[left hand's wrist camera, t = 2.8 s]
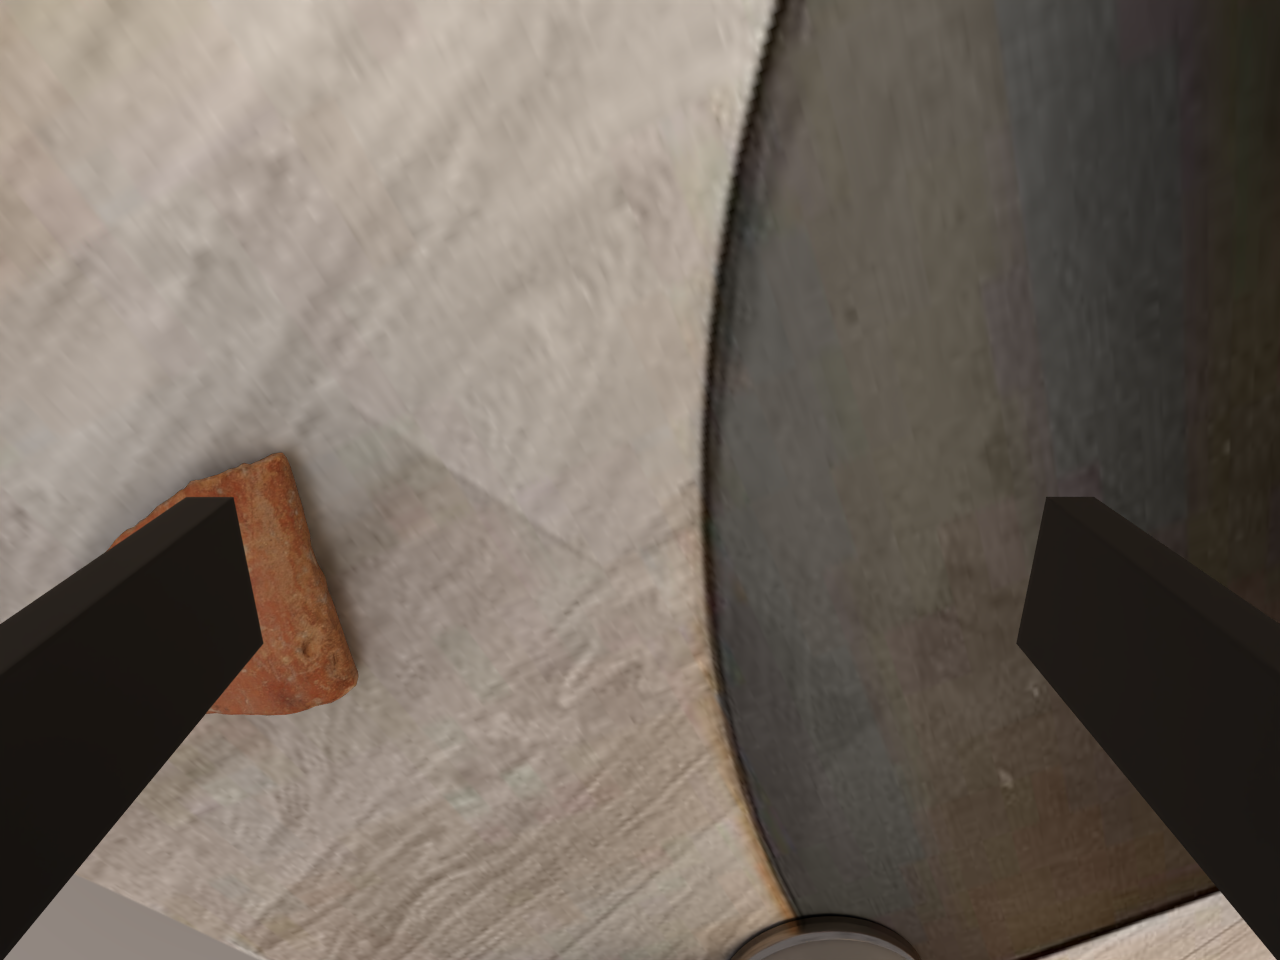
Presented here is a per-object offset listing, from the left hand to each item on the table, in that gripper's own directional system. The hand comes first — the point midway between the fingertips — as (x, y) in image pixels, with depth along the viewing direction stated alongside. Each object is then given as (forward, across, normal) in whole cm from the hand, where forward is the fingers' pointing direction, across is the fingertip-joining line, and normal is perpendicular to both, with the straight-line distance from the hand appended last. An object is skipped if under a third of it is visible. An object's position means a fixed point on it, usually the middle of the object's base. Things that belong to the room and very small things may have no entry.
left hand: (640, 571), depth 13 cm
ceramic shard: (+28, +25, +15) cm, 40 cm away
